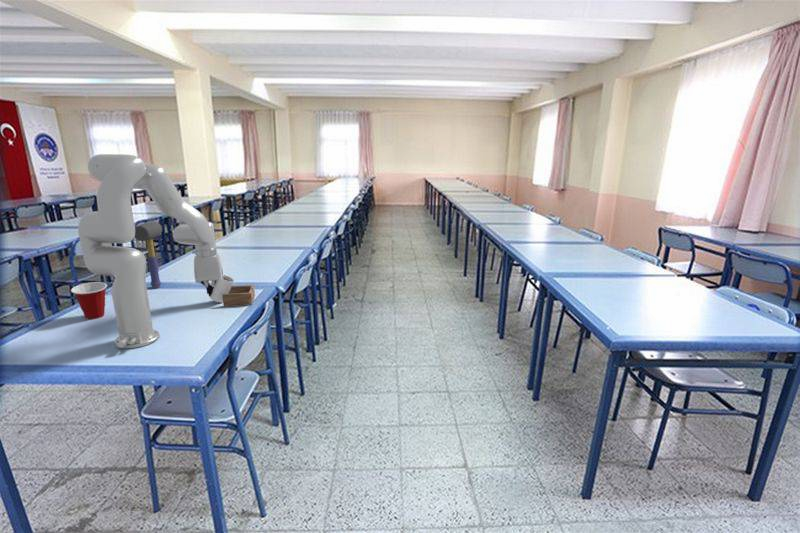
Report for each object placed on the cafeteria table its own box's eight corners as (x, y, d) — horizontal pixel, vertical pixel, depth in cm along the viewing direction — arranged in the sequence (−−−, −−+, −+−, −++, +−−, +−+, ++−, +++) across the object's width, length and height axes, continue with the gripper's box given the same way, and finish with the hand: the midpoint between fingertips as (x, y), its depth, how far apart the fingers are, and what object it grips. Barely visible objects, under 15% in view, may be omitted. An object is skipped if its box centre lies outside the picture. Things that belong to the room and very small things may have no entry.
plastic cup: (75, 324, 148) (69, 293, 145) (78, 314, 156) (71, 284, 153) (112, 318, 154) (106, 288, 150) (112, 309, 162) (107, 280, 159)
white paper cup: (222, 297, 176) (232, 276, 175) (226, 304, 171) (236, 283, 170) (207, 293, 172) (216, 272, 171) (210, 300, 167) (220, 279, 166)
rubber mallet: (157, 291, 183) (147, 225, 174) (140, 292, 182) (129, 225, 174) (171, 283, 195) (162, 220, 186) (155, 283, 194) (145, 220, 186)
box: (252, 304, 170) (251, 293, 168) (223, 306, 167) (222, 294, 166) (255, 295, 180) (254, 284, 179) (228, 297, 178) (227, 286, 176)
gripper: (183, 255, 160) (189, 299, 166) (224, 253, 164) (229, 297, 169) (188, 251, 167) (194, 293, 173) (227, 249, 171) (232, 291, 176)
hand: (211, 295), depth 171 cm, fingers closed
